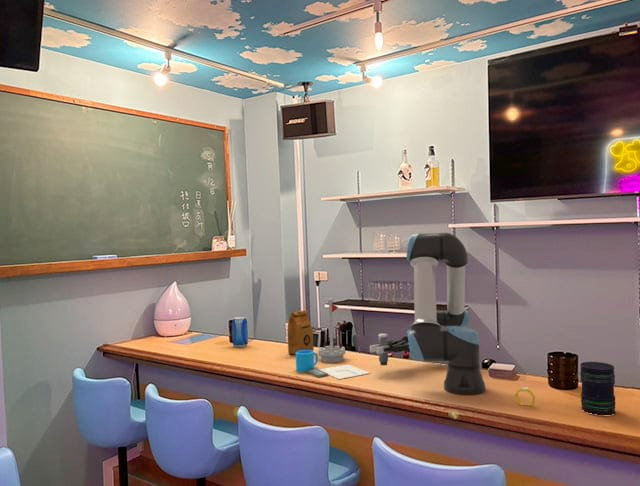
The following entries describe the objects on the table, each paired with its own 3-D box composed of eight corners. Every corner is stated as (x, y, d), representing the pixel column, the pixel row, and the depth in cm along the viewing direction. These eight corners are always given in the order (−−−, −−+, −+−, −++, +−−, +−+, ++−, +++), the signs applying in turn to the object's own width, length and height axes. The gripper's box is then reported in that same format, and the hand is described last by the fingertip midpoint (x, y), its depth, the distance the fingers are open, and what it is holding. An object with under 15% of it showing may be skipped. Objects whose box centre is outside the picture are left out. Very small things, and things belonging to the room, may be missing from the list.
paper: (370, 373, 220) (370, 372, 220) (338, 379, 212) (338, 378, 212) (347, 365, 235) (347, 364, 235) (317, 370, 228) (317, 369, 228)
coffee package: (316, 352, 263) (315, 310, 263) (298, 357, 255) (296, 313, 255) (304, 350, 271) (302, 308, 271) (285, 354, 262) (284, 311, 262)
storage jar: (583, 414, 163) (581, 368, 163) (579, 405, 172) (578, 361, 172) (618, 417, 159) (617, 370, 159) (612, 407, 169) (611, 362, 169)
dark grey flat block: (328, 375, 219) (328, 373, 219) (317, 377, 216) (317, 375, 216) (316, 370, 227) (316, 368, 227) (306, 372, 225) (306, 370, 225)
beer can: (246, 347, 281) (245, 318, 281) (231, 348, 281) (230, 319, 281) (249, 344, 290) (248, 316, 290) (234, 344, 290) (233, 316, 290)
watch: (515, 405, 174) (513, 388, 175) (518, 403, 177) (516, 386, 177) (533, 407, 171) (531, 390, 171) (536, 405, 173) (534, 387, 173)
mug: (304, 373, 224) (304, 355, 224) (292, 370, 230) (291, 352, 230) (324, 368, 232) (323, 350, 232) (311, 365, 238) (311, 347, 238)
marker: (390, 364, 219) (389, 334, 219) (382, 366, 217) (381, 335, 217) (384, 363, 222) (383, 333, 223) (377, 364, 221) (376, 334, 221)
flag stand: (331, 364, 238) (329, 300, 238) (313, 359, 248) (311, 298, 248) (351, 359, 247) (349, 297, 247) (332, 355, 257) (331, 295, 257)
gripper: (427, 354, 223) (387, 362, 210) (400, 348, 237) (361, 355, 224) (426, 336, 223) (386, 343, 210) (399, 332, 237) (360, 338, 224)
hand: (373, 349), depth 217 cm, fingers closed on marker, 4 cm apart
